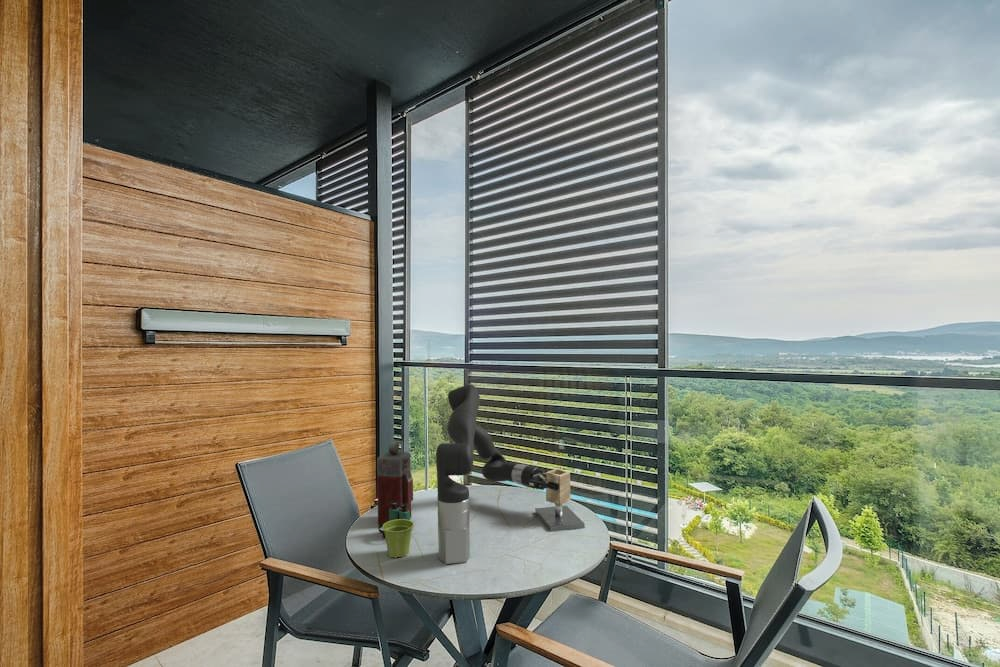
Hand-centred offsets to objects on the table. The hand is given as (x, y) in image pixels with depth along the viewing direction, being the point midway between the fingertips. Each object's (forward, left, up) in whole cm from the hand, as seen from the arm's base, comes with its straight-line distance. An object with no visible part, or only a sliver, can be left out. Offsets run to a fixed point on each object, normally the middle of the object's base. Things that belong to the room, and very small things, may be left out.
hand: (563, 484), depth 173 cm
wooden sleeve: (+2, +1, -6) cm, 6 cm away
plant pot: (-12, +56, -13) cm, 59 cm away
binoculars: (+1, +57, -13) cm, 59 cm away
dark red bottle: (+15, +56, -13) cm, 60 cm away
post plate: (+2, +1, -13) cm, 13 cm away
